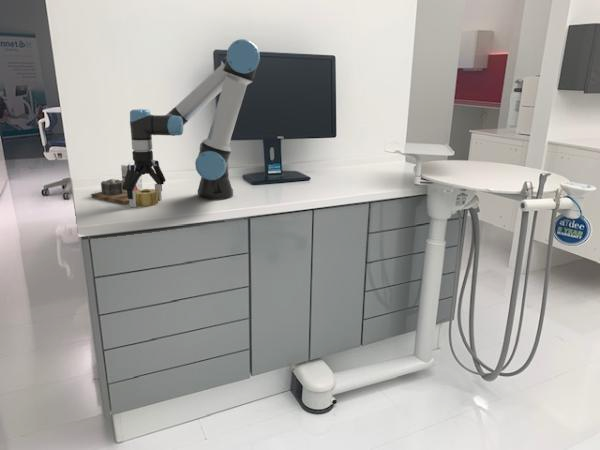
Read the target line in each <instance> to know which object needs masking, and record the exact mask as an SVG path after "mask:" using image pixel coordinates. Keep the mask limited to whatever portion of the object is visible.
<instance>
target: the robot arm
mask: <svg viewBox="0 0 600 450" xmlns="http://www.w3.org/2000/svg"><path fill="white" fill-rule="evenodd" d="M260 61H261V55H260V50H259V48H258V46H257V45H256V44H255V43H254V42H253V41H251V40H250V39H249V40H248V39H244V38H242V39H241V38H240V39H237V40H235V41H232V43H231V44H230V45H229V47H228V49H227V52H226V56H225V57H224V58H223V59H222V60H221V62H220V66H218V67H217V68H216V69H215V70H214V71H213V72H212V73H210V75H208V76H207V77H206V78H205V79H204V80H203V81H202V82H201V83H200V84H199V85H197V86H196V87H195V88H194V89H193V90H192V91H191V92H190V93H188V95H186V96H185V97H184V98H183V99H182V100H181V101H180V102H179V103H178V104H177V105H176V106H174V108H172V109H171V110H170V111H168V113H167V114H164V115H163V114H162V115H160V114H159V115H156V114H155V115H154V114H152V113H151V111H150V110H149V109H143V108H135V109H131V110H130V111H129V125H130V126H129V128H130V134H131V135H130V136H131V150H132V160H133V162H134V165H128V166H127V174H126V177H125V180H124V184H123V187H122V189H123V190H127V195H128V199H129V204H128V205H129V207H130V208H136V207H137V204H136V200H135V191H133V189H134V187H135V185H136V183H137V181H138V179H139V178H140V176H142V177H143V175H149V176H150V178H152V180H153V181H154V182H155V183H154V189H155V190H156V191H157V194H158V201H162V192H163V185H164V184H165V182H166V181H167V180H166V178H165V175H164V173H163V172H162V169H161V167H160V163H159V162H160V161H159V160H155V159H154V154H153V153H154V151H153V139H152V136H172V137H175V136H181V135H183V134H184V126H185V124H187V123H188V122H189V121H190V120H191V119H192V118H193V117H194V116H196V115H197V114H198V113H199V112H200V111H202V110H203V109H204V107H206V106H207V105H208V104H209V103H210V102H211V101H212V100H213V99H215V97H217V96H218V95H219V98H218V100H217V101H218V102H217V104H216V108H215V112H214V116H213V118H212V122H211V125H210V130H209V131H208V132H209V133H208V136H207V138H205V139H203V140H202V142H201V143H200V145H199V152H198V155H197V157H196V159H195V163H194V164H195V170H196V172H197V174H198V175H199V176H200V181H199V184H198V189H197V197H198V198H201V199H205V200H224V199H229V198H232V197H233V196H234V189H233V187H232V184H231V181H230V177H229V175H230V174H229V173H230V172H229V159H230V156H231V152H232V149H231V146H230V142H231V140H232V135H233V132H234V129H235V126H236V123H237V119H238V115H239V113H240V109H241V106H242V104H243V100H244V97H245V94H246V90H247V86H248V85H249V84H251V83H253V81H254V78H255V75H256V71H257V68H258V66H259V64H260ZM134 170H135V171H134ZM137 172H138V173H137ZM130 187H131V188H130Z"/></svg>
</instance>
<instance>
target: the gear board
mask: <svg viewBox="0 0 600 450" xmlns="http://www.w3.org/2000/svg"><path fill="white" fill-rule="evenodd" d="M123 184H124V181H122V180H120V179H115V178H110V179H107V180H103V181H101V183H100V187H101V191H99V192H94V193H91V194H90V195H91V198H92V199H95V200H96V199H97V200H101V201H105V202H111V203H116V204H120V205H130V204H129V199H128V195H127V190H123V189H122V187H123ZM130 188H131V187H130Z"/></svg>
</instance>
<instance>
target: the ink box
mask: <svg viewBox="0 0 600 450" xmlns="http://www.w3.org/2000/svg"><path fill="white" fill-rule="evenodd" d="M128 165H134V161H133V162H127V163H124V164H121V165H120V166H121V167H120V169H121V178H122V179H121V181H124V180H125V177H126V174H127V166H128ZM134 171H135V170H134ZM137 173H138V172H137ZM142 177H143V175H142V176H140V178H139V179H138V181H137V183H136V185H135V187H134V189H133V191H136V190H142V189H143V182H142V181H143V178H142Z"/></svg>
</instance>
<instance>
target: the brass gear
mask: <svg viewBox="0 0 600 450" xmlns="http://www.w3.org/2000/svg"><path fill="white" fill-rule="evenodd" d="M135 200H136V207H150V206H152V207H153V206H156V205H158V204H159V200H158V194H157V191H156V190H155V188H152V189H150V188H149V189H148V188H142V189H140V190H136V191H135Z"/></svg>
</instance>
